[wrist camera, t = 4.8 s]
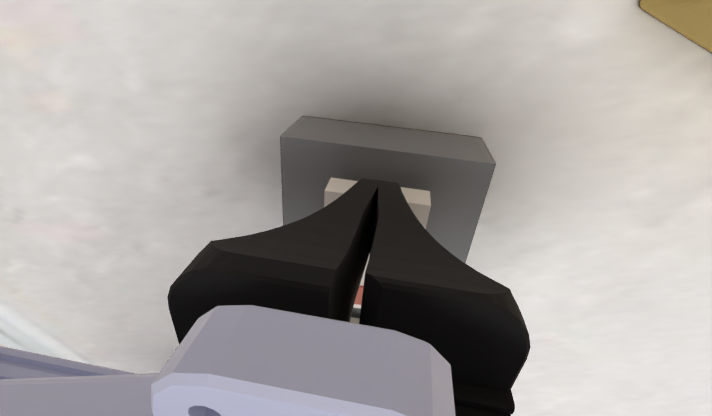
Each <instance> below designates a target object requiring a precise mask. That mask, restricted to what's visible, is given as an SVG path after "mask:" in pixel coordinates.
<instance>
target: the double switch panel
mask: <svg viewBox="0 0 712 416" xmlns="http://www.w3.org/2000/svg"><path fill="white" fill-rule="evenodd" d="M280 145H281V173H282V202H283V226H284V225H287V224H290V223H292V222H295V221H298V220H300V219H303V218H305V217H307V216H309V215H311V214H313V213H315V212H317V211H319V210H320V209H322V208H324V193H325V189H326V187H327V184H328V182H329V180H330V178H339V179H346V180H353V181H359V180H360V179H362V178H366V179H374V180H381V181H388V182H396V183H398V184H399V185H400V187H404V188H411V189H419V190H426V191H430V198H431V208H430V212H429V217H428V221H427V225H426V230H427V231H428V232H429V234H430V235H431V236H432V237H433V238H434V239H435V240H436V241H437V242H438V243H439V244H441V245H442V246H443V247H444V248H445V249H447V250H448V251H449V252H450V253H451V254H453V255H454V256H455V257H457V258H458V259H459V260H461V261H462V262H464V263H465V262H466V259H467V255H468V252H469V249H470V246H471V242H472V239H473V236H474V233H475V230H476V226H477V223H478V220H479V217H480V213H481V210H482V207H483V204H484V200H485V197H486V194H487V191H488V188H489V184H490V181H491V178H492V175H493V171H494V168H495V165H496V163H495V161H494V160H493V158H492V156H491V154H490V152H489V150H488V149H487V147H486V145H485V143H484V141H483V139H482V138H480V137H472V136H463V135H455V134H447V133H439V132H430V131H422V130H414V129H406V128H398V127H389V126H381V125H373V124H365V123H356V122H348V121H340V120H332V119H324V118H315V117H307V116H302V117H301V118H300V119H299V120H298V121H296V122H295V123H294V124H293V125H292V126H291V127H290V128H289V129H288V130H287V131H285V132H284V133H283V134H282V135H281V136H280ZM360 312H361V309H360V308H354V307H353V310H352V314H351V317H354V318H359V319H360Z"/></svg>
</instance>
